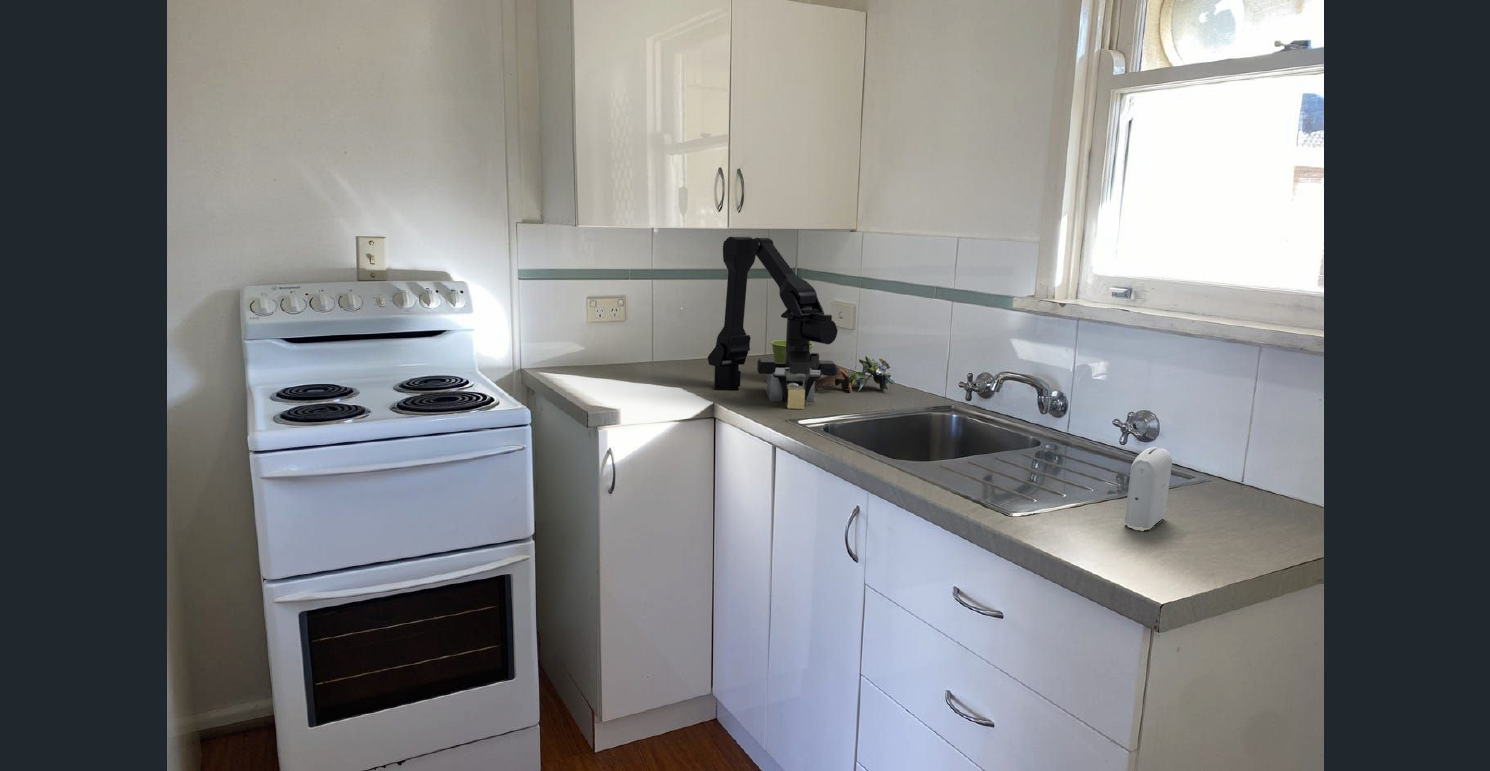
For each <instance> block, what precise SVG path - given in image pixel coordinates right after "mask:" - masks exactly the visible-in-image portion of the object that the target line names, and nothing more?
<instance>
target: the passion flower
mask: <svg viewBox="0 0 1490 771" xmlns="http://www.w3.org/2000/svg"><path fill="white" fill-rule="evenodd" d="M864 359H865V360H863V359H861V357H859V358H858V361H859V364H861V365H862V371H857V372H855V373H852V372H850V371H848V369H845V370H844V371H845V372H846V373H847V374H850V375H851V376H850V377H849V378H850V382H851V386H853V385H854V383H855V382H856V388H858V387H859V388H858V390H857V393H859V392H860V391H861V389H862V388H863V387H864V386H866V385H867V383H868V380H870V378H871V377H872V376H873V377H872V378H873V381H874V383H875V384H877V385H879V389H880V390H881V391H882V390H885V391H886V390H887V391H888V390H889V388H888V383H889V384H892V385H894V384H895V381H894V380H893V379H892V378H893V377H892V374H891V372H888V371H887V370H889V369H890V368H891V365H890V364H889V363H888V361H887V360H885V359H884V358H883V357H881V358H878V360H879V361H880V363H879V362H878V361H877V360H875V359H874V358H872V357H870V356H869V355H865V356H864ZM876 361H877V362H876ZM881 364H882V365H881ZM867 373H868V374H869V376H868V377H867V378H865V376H866V374H867Z"/></svg>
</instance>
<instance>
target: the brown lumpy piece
mask: <svg viewBox="0 0 1490 771" xmlns="http://www.w3.org/2000/svg"><path fill="white" fill-rule="evenodd" d="M834 364H835V363H834ZM835 365H836V366H837V374H836V376H825V375H823V374H822V373H820V376H821V378H820V379H816V380H815V389H814V391H818V388H822V389H823V388H824V387H828V386H834V387H838V386H839V385H841V390H848V391H849V394H852V393H853V389H852V385H851V382H850V377H849V373H848V372H845V370H844V369H842V368H840V367H839V364H837V363H836V364H835ZM822 376H823V377H822Z"/></svg>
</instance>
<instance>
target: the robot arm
mask: <svg viewBox="0 0 1490 771" xmlns="http://www.w3.org/2000/svg"><path fill="white" fill-rule="evenodd" d="M774 244H775V243H774V241H773V240H772V238H769V237H754V238H753V237H751V236H728V237H727V238H726V239H725V240H723V245H722V260H723V263H724V265H725V267H726V269H727V273H728V274H727V283H726V284H727V285H726V299H725V312H724V324H723V327H722V328H721V330H720V331H719V333H718V335H717V336H716V343H715V347H714V348H713V350H712V351H711V352H710V353H709V354H708V355H707V361H708V365H709V366H713V367H714V372H713V373H714V374H713V375H714V376H713V386H712V387H713V390H733V391H734V390H735V391H739V390H740V387H741V377H742V376H741V375H742V374H741V373H742V372H741V369H739V368H740V367H739V365H740V366H741V365H743V366H744V365H745V363H746V360H747V356H748V355H749V352H750V351H751V347H750V346H751V345H750V343H751V335H750V334H747V333H746V330H745V328H744V325H745V324H744V321H745V312H746V311H745V309H746V296H747V283H748V275H749V271H750V270H751V269H752V267H753V265H754V264H755V261H756V257H757V259H758V260H759V262H760V263H761V264H762V266H764V269H766V271H767V272H768V274H769V275H770V276H771V278H772V279H773V281H774V282H775V283H776V285H777V287H778V289H779V293H778V294H779V298H780V299H781V301H782V303H783V305H784V307H785V308H786V310H785V311H784V312H782V313H781V314H780V317H781V318H783V319H786V330H785V331H786V333H785V334H786V336H785V340H786V352H785V363H775V359H774V358H759V359H758V360H757V362H756V363H757V365H756V368H757V369H756V370H757V373H758V374H760V375H767V374H773V376H774V377H775V378H778V380H779V382H780V385H781V388H782V392H783V393H782V397H783V399H784V402H785V403H786V402H787V384H786V375H785V371H790V373H791V374H805V375H806V377H805V384H804V389H805V401H806V399H807V396H808V394H809V391H810V389H811V387H812V385H813V383H814V382H815V380H816V379H820V378H822V376H824V377H825V376H836V374H837V366H836V365H837V364H836V365H835V362H834V361H833V360H825V359H824V360H823V359H821V360H820V354H819V353H818V352H817V353H815V352H814V353H813V352H811V353H810V352H809V349H810V343H811V342H813V343H819V344H823V345H831V344H832V343H834V341H835V340H836V338H837V336H838V327H837V324H836V322H835V321H834V320H832V319H833V316H832V314H825V311H824V309H823V307H822V305H821V302H820V301H819V298H818V296H817V295H818V294H817V291H816V290H815V288H814V287H813V285H811V284H810V283H809V282H808V281H807V280H804V279H803V278H802V277H800V276H797V274H796V273H795V272H794V270H793V269H792V268H791V267H790V265H789V264H788V262H787V261H786V260H785V259H784V257H783V255H782V254H781V253H780V251H778V248H776V246H775V245H774ZM820 373H822V374H823V375H821V376H820Z"/></svg>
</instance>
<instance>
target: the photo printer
mask: <svg viewBox="0 0 1490 771" xmlns="http://www.w3.org/2000/svg"><path fill="white" fill-rule="evenodd" d="M1172 465H1173V458H1172V455H1171V453H1170V452H1169V451H1167V450H1166V449H1165V448H1160V447H1157V446H1152V447H1149V448H1146V449H1144V450H1143V451H1142V452H1140V453H1139V454H1138V455H1137V456H1136V457H1135V459H1134V460H1133V462H1132V464H1131V468H1130V475H1129V482H1128V489H1127V490H1128V491H1127V497H1126V498H1127V500H1126V507H1125V516H1124V524H1125V523H1127V524H1129V525H1130V526H1134V527H1143V528H1150V527H1153V526H1154V525H1155V524H1156V523H1157V522H1159V521H1160V520H1161V519H1162V518H1163V517H1164V518H1165V516H1166V512H1167V504H1168V495H1169V490H1170V489H1169V488H1170V481H1171V475H1172V474H1171V472H1172ZM1164 518H1163V519H1164ZM1161 521H1162V520H1161ZM1161 521H1160V522H1161ZM1160 522H1159V523H1160ZM1154 527H1155V526H1154ZM1154 527H1153V528H1154Z"/></svg>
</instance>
